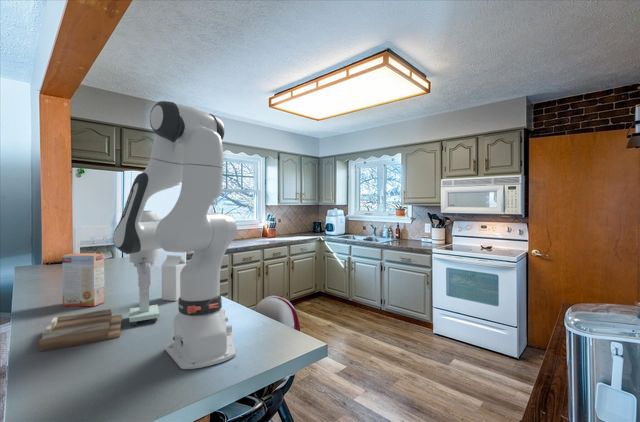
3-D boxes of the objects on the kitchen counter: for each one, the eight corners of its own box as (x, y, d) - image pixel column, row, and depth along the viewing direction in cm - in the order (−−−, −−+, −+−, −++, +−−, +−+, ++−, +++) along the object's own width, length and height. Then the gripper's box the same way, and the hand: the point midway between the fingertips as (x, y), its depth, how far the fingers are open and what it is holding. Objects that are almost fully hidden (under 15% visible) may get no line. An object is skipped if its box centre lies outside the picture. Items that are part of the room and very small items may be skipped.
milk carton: (176, 301, 132) (175, 257, 131) (161, 300, 133) (161, 256, 133) (186, 296, 139) (186, 254, 138) (172, 295, 140) (172, 253, 140)
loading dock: (119, 337, 96) (119, 322, 96) (38, 351, 86) (38, 335, 86) (121, 318, 111) (121, 306, 111) (53, 329, 102) (53, 315, 102)
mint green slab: (159, 322, 108) (159, 285, 108) (129, 327, 104) (129, 288, 103) (157, 312, 118) (157, 278, 118) (129, 316, 113) (129, 281, 113)
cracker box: (105, 302, 130) (105, 253, 129) (93, 307, 124) (93, 255, 123) (75, 301, 131) (74, 252, 131) (61, 306, 125) (61, 254, 125)
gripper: (155, 259, 103) (155, 300, 103) (152, 251, 121) (152, 286, 121) (133, 261, 100) (133, 303, 100) (133, 252, 117) (134, 288, 118)
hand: (144, 294), depth 111 cm, fingers open, 8 cm apart
